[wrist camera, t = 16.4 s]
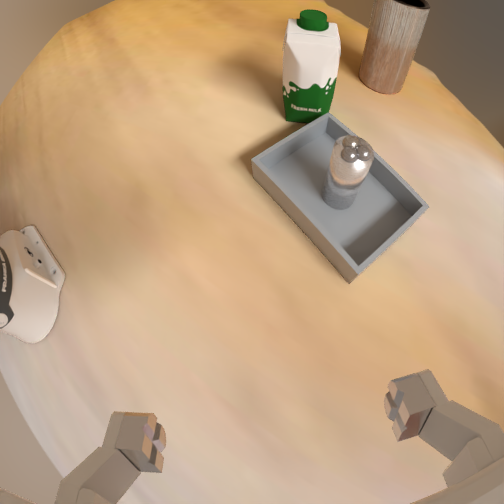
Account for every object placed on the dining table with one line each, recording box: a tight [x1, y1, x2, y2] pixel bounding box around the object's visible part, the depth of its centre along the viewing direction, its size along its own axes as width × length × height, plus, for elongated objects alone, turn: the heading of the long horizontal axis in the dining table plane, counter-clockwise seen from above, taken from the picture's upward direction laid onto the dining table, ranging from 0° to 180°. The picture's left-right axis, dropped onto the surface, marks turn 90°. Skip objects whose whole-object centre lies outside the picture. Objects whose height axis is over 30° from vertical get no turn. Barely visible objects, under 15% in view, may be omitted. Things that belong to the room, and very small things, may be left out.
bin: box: [251, 112, 429, 284], centre depth 44 cm, size 22×16×5 cm
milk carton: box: [283, 10, 341, 123], centre depth 43 cm, size 9×9×20 cm
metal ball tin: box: [322, 135, 374, 210], centre depth 40 cm, size 5×5×12 cm
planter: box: [359, 0, 430, 94], centre depth 45 cm, size 10×10×23 cm
